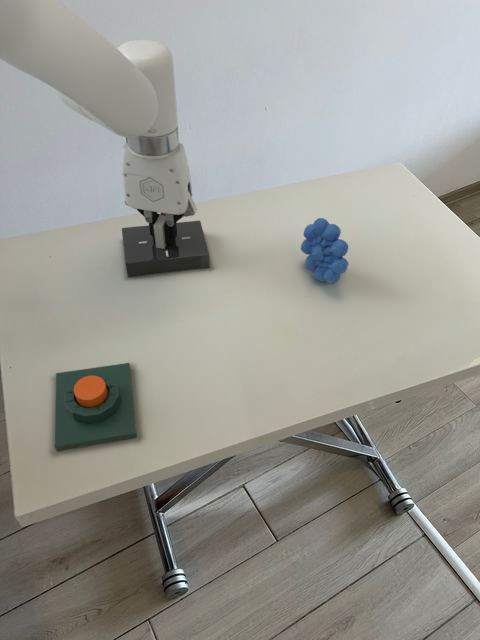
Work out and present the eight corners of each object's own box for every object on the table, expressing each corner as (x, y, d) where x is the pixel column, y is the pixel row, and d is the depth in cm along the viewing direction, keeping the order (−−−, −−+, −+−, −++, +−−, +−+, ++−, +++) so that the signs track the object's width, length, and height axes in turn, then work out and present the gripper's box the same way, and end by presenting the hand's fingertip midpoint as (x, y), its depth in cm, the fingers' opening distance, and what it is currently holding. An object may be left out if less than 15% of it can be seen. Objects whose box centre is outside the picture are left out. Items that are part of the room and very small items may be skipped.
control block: (56, 451, 67) (50, 438, 65) (58, 378, 75) (52, 364, 73) (136, 437, 69) (133, 424, 67) (130, 367, 77) (127, 354, 74)
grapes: (359, 292, 90) (374, 234, 81) (326, 304, 88) (337, 245, 79) (321, 253, 96) (331, 195, 87) (290, 263, 94) (296, 205, 85)
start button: (76, 410, 68) (73, 402, 67) (76, 385, 71) (73, 377, 70) (108, 405, 69) (106, 397, 68) (107, 381, 72) (104, 373, 70)
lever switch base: (127, 277, 90) (125, 262, 87) (124, 241, 96) (121, 227, 94) (209, 268, 92) (209, 253, 90) (200, 233, 99) (200, 219, 96)
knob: (164, 249, 90) (161, 225, 87) (156, 247, 90) (153, 224, 87) (172, 233, 93) (170, 210, 90) (164, 232, 93) (162, 209, 90)
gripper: (92, 141, 76) (113, 245, 90) (197, 157, 75) (202, 260, 88) (111, 118, 81) (128, 220, 95) (211, 132, 80) (213, 233, 93)
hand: (164, 239), depth 92 cm, fingers closed, pressing on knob
